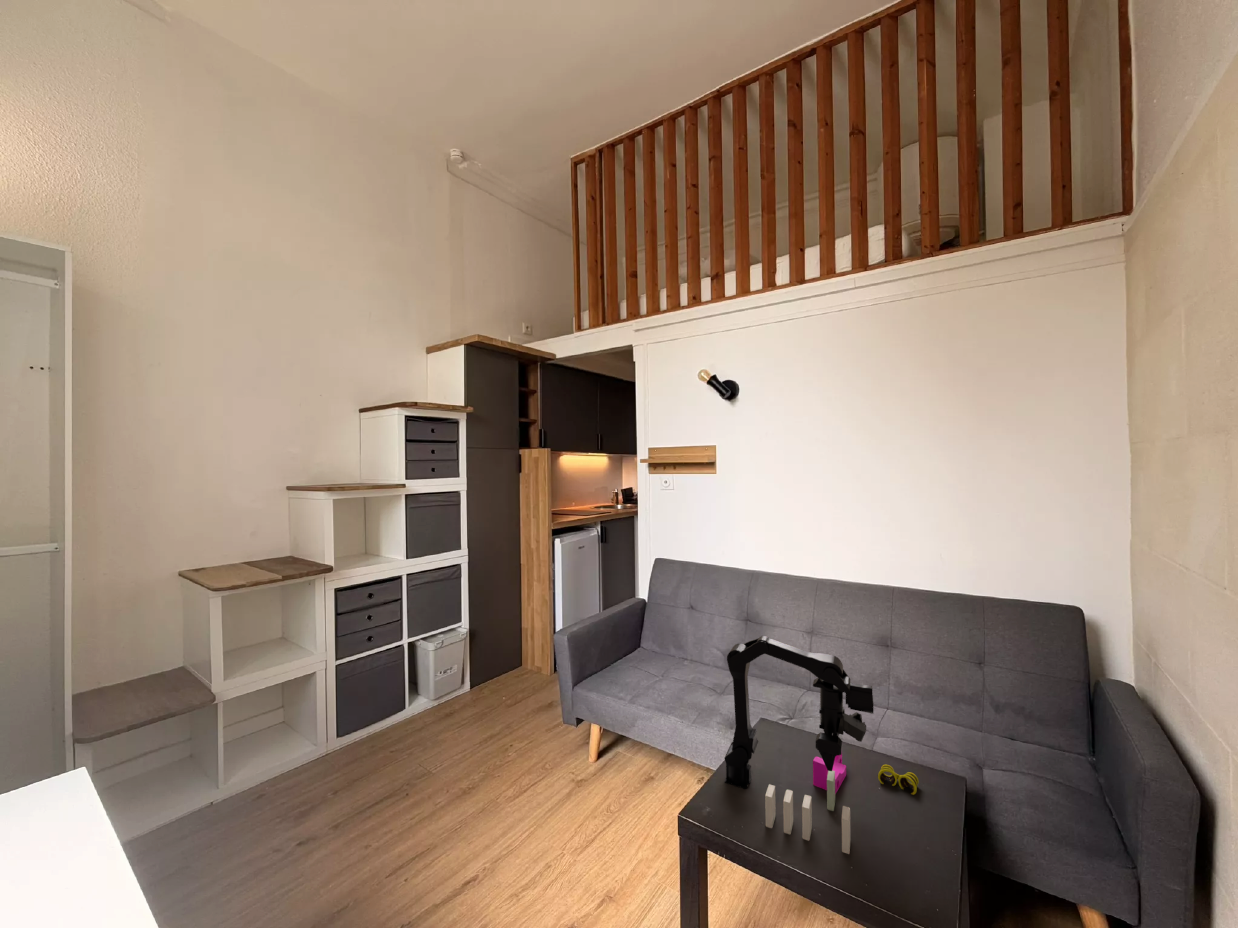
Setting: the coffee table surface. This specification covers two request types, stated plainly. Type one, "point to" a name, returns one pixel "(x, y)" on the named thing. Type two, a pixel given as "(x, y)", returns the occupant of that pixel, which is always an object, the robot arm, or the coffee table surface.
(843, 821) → the domino
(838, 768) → the toy block
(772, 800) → the domino
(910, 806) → the coffee table surface
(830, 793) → the pale green domino
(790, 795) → the domino
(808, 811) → the domino
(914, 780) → the opera glasses
